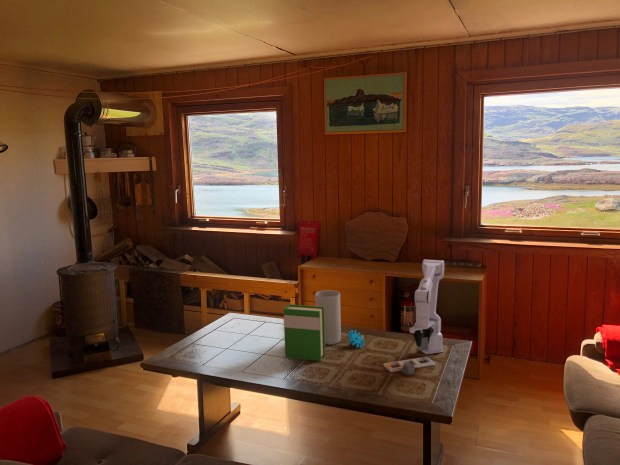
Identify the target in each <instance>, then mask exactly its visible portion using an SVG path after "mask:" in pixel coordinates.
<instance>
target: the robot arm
mask: <svg viewBox="0 0 620 465" xmlns="http://www.w3.org/2000/svg"><path fill="white" fill-rule="evenodd" d="M421 270H422V273H423V278H422V279H421V280H420V282H419V285H418V287H417V289H416V290H415V292H414V306H415V323H414V325H413V326H411V327H409V333H411V335H413V338H414V341H415V342H414V343H415V344H416V347H417V346H419V347H421V341H422V336H423V335H426V336H427V337H428V350H424V351H421V352H422V353H424V354H425V355H431V354H438V353H443V352H444V338H443V334H442V333H441V330H442V319H441V317H440V316H439V315H438V314H437V303H438V302H437V300H438V292H439V290H438V289H439V284H440V280H442V279H444V276H445V275H444V274H445V261H444V260H437V259H425V258H424V259H423V260H422V264H421Z"/></svg>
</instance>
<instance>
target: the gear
mask: <svg viewBox="0 0 620 465" xmlns="http://www.w3.org/2000/svg"><path fill="white" fill-rule="evenodd" d="M347 334H348V335H347V339H348V338H349V339H348V340H349V345H351V346H355V347H356V349H358V348H359V349H361V348H363V347H364V346H365V340H364V337H365V336H364V335H363V334H362V335H361V333H360V332H358V333H357V330H353V329H351V330H350V331H349V332H347ZM360 335H361V336H360Z"/></svg>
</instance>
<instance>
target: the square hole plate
mask: <svg viewBox="0 0 620 465" xmlns="http://www.w3.org/2000/svg"><path fill="white" fill-rule="evenodd" d="M424 361H426V362H424ZM408 362H409V363H411V364H413V365H414V369H418V368H424V367H431V366H436V362H435V361H434V360H432V358H430V357H428V356H423V357H416V358H411V359H405V360H404V359H403V360H398V361H397V360H396V361H390V362H386V363H383V367H384V368H385V369H386V370H387V371H388V372H390V373H395V372H399V371H400V372H401V371H403V364H405V363H408ZM421 362H424V363H421ZM394 366H397V367H394Z"/></svg>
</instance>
